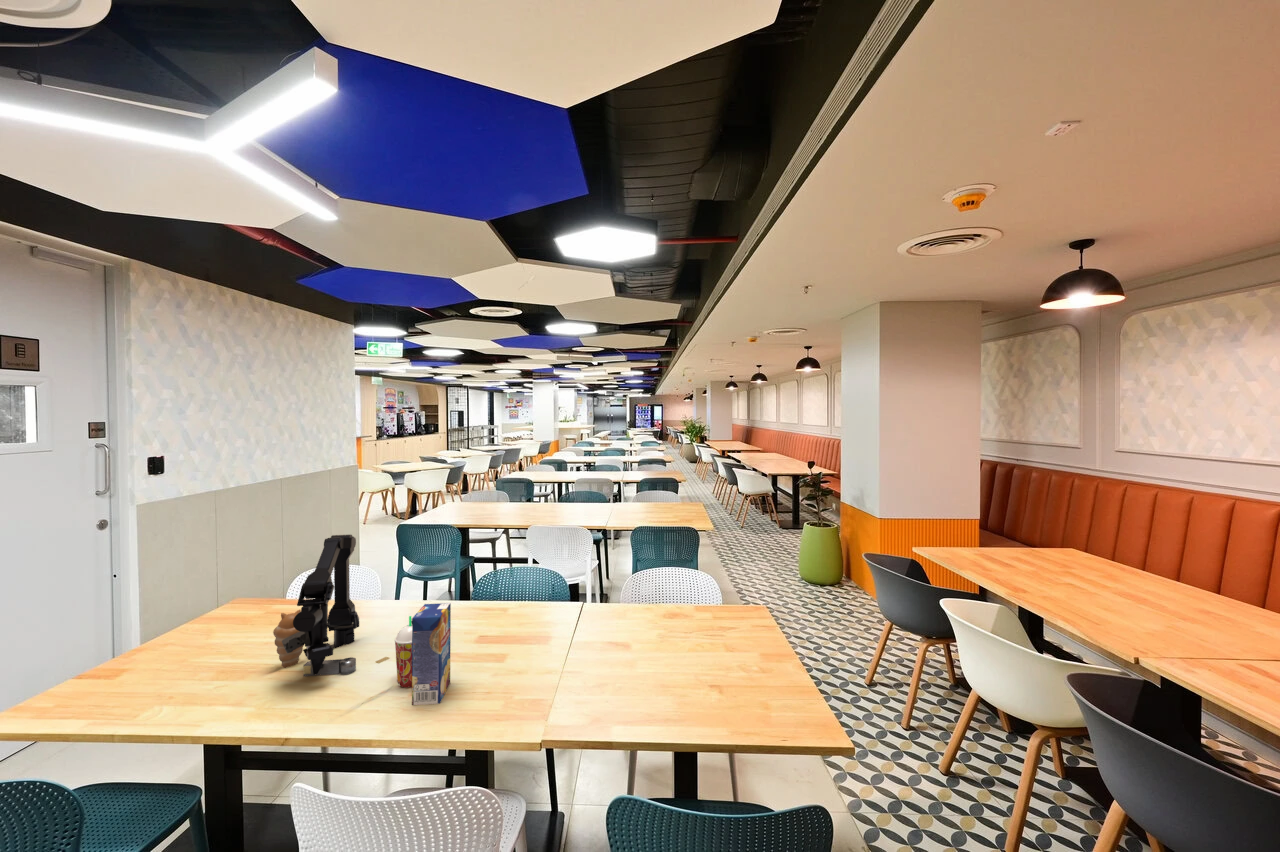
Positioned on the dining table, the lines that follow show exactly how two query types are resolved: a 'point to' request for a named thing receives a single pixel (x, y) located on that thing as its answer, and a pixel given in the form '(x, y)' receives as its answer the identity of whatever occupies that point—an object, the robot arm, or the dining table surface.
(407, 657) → the smoothie
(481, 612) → the dining table surface
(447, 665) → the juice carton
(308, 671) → the swing bar
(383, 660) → the brass stop
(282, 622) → the cat ice cream
